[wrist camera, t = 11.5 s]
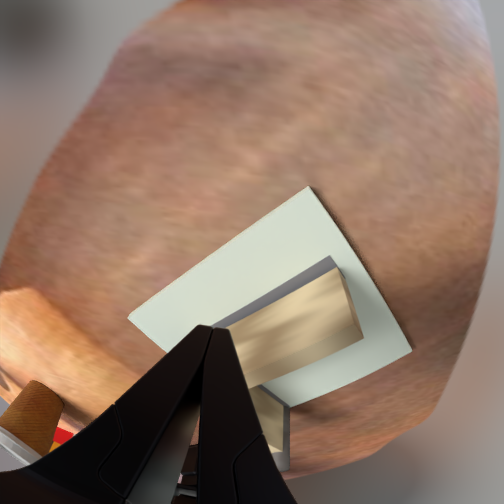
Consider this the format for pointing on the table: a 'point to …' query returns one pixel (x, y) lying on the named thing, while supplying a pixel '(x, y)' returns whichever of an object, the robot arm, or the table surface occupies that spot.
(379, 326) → the board
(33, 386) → the disposable coffee cup
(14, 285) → the table surface
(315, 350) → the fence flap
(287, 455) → the fixed fence panel
